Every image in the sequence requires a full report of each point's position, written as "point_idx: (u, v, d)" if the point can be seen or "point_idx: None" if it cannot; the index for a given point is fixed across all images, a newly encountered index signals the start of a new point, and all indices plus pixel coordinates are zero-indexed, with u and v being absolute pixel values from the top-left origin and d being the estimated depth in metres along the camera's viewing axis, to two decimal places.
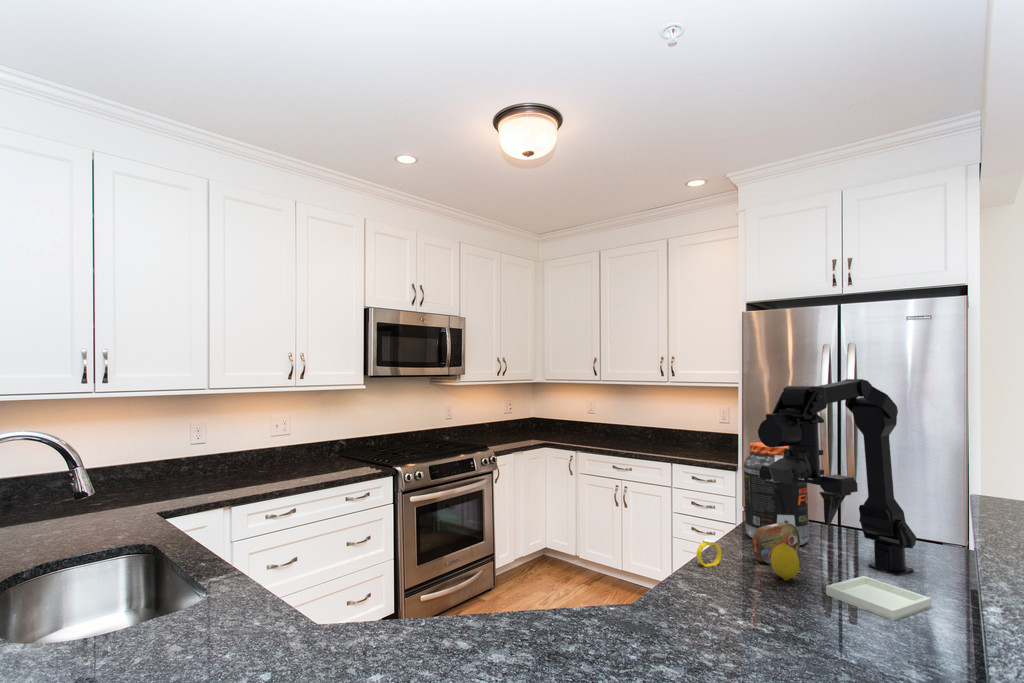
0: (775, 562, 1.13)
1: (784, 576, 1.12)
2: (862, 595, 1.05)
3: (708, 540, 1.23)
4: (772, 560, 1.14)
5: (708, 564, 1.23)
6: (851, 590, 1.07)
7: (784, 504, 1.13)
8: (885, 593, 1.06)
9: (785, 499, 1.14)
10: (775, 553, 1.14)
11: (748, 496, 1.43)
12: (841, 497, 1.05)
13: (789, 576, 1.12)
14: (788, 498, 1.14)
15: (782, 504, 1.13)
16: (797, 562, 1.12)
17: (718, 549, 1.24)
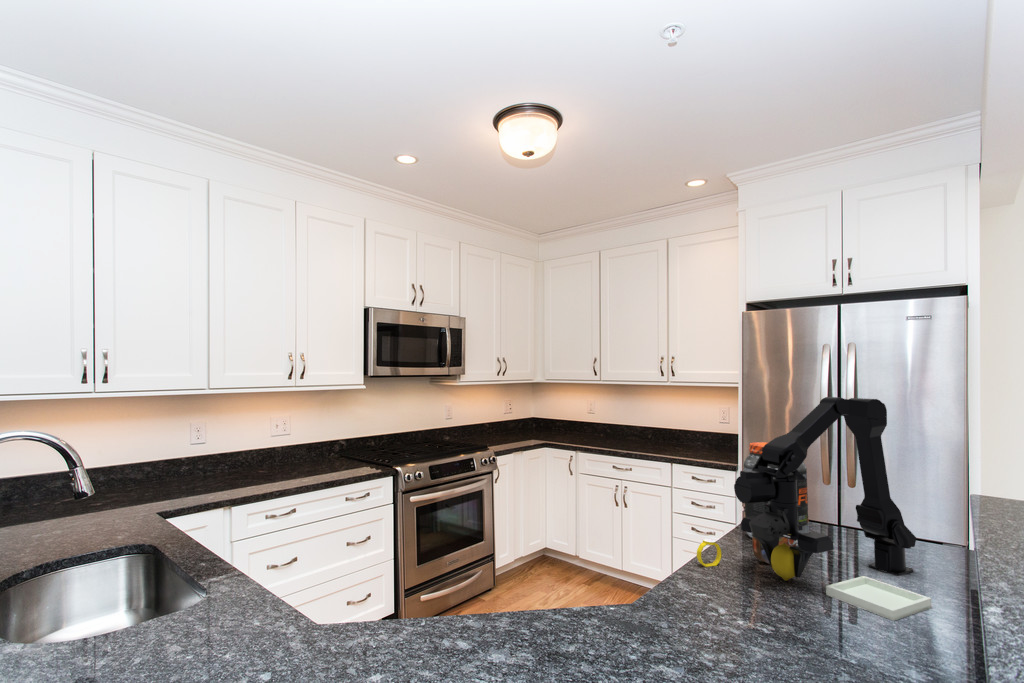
0: (775, 562, 1.13)
1: (784, 576, 1.12)
2: (862, 595, 1.05)
3: (708, 540, 1.23)
4: (772, 560, 1.14)
5: (708, 564, 1.23)
6: (851, 590, 1.07)
7: None
8: (885, 593, 1.06)
9: None
10: (775, 553, 1.14)
11: None
12: (810, 551, 1.11)
13: (789, 576, 1.12)
14: None
15: (769, 559, 1.16)
16: None
17: (718, 549, 1.24)
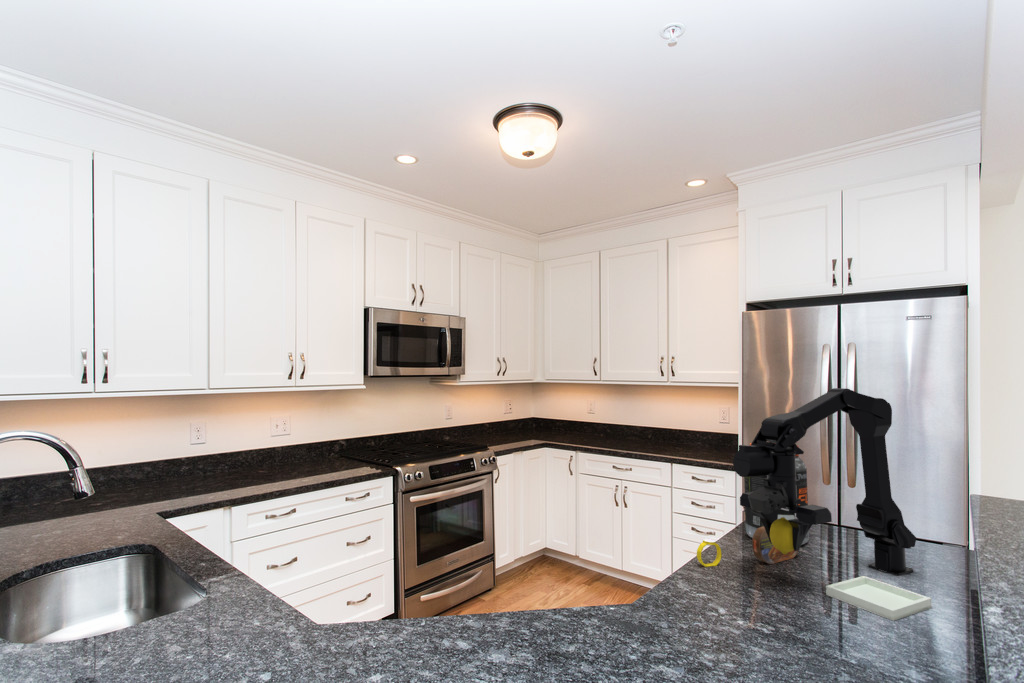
0: (774, 535, 1.13)
1: (783, 549, 1.12)
2: (862, 595, 1.05)
3: (708, 540, 1.23)
4: (771, 534, 1.14)
5: (708, 564, 1.23)
6: (851, 590, 1.07)
7: None
8: (885, 593, 1.06)
9: None
10: (773, 526, 1.14)
11: None
12: (809, 524, 1.11)
13: (788, 549, 1.12)
14: None
15: (768, 533, 1.17)
16: None
17: (718, 549, 1.24)
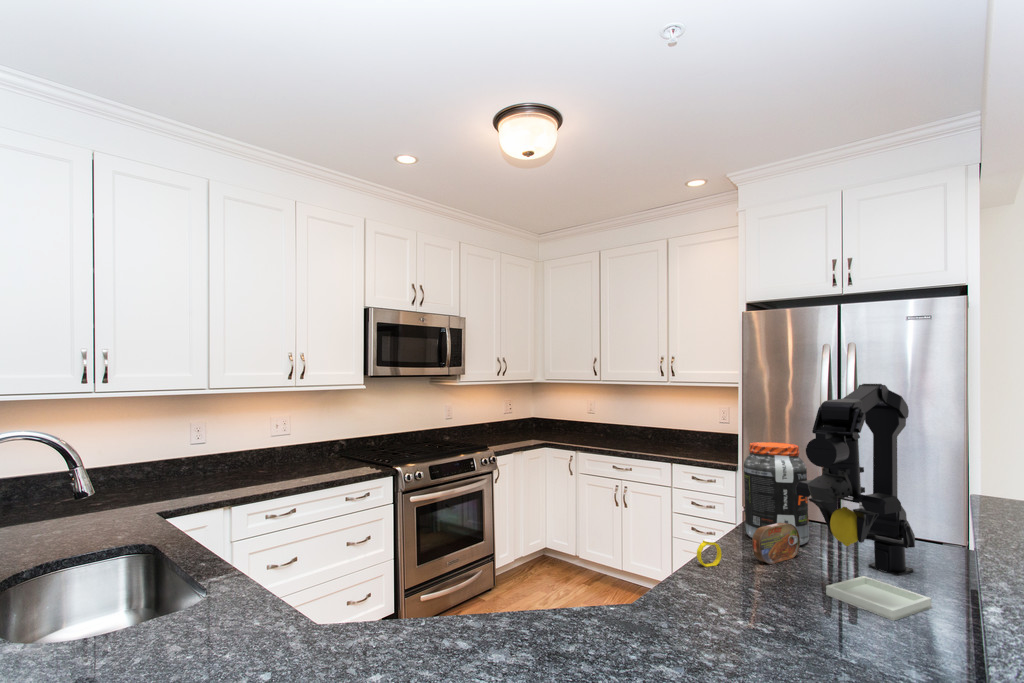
0: (835, 526, 1.06)
1: (846, 541, 1.05)
2: (862, 595, 1.05)
3: (708, 540, 1.23)
4: (832, 524, 1.07)
5: (708, 564, 1.23)
6: (851, 590, 1.07)
7: None
8: (885, 593, 1.06)
9: None
10: (835, 516, 1.07)
11: (748, 496, 1.43)
12: (875, 514, 1.04)
13: (851, 541, 1.05)
14: None
15: (828, 524, 1.10)
16: None
17: (718, 549, 1.24)
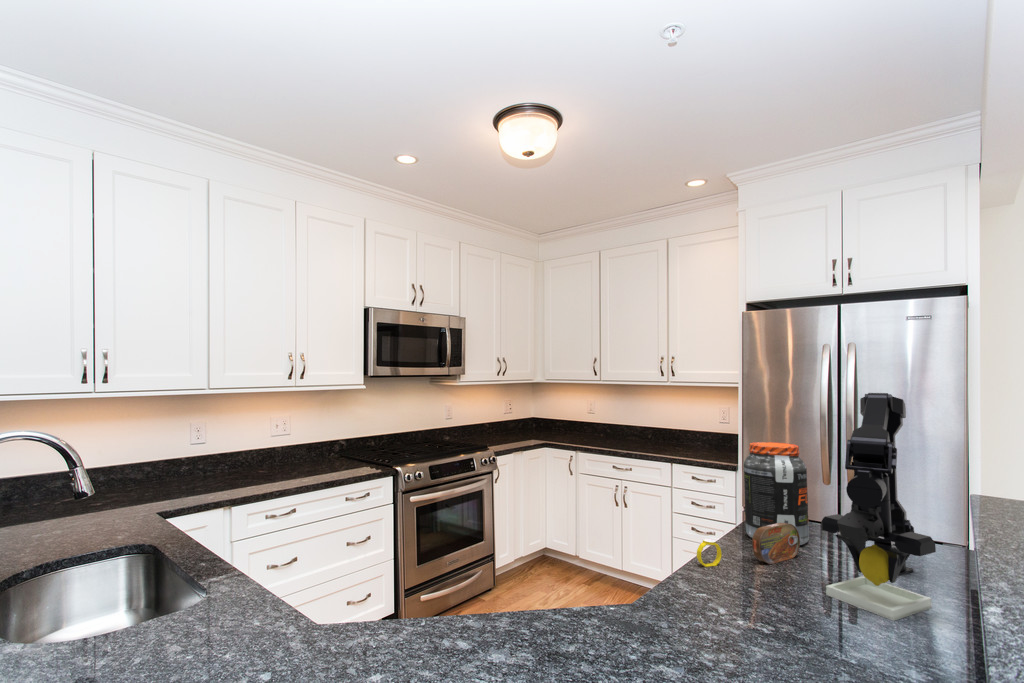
0: (866, 565, 1.03)
1: (876, 581, 1.02)
2: (862, 595, 1.05)
3: (708, 540, 1.23)
4: (861, 563, 1.04)
5: (708, 564, 1.23)
6: (851, 590, 1.07)
7: None
8: (885, 593, 1.06)
9: None
10: (865, 555, 1.03)
11: (748, 496, 1.43)
12: (907, 554, 1.00)
13: (882, 581, 1.01)
14: None
15: (857, 562, 1.06)
16: None
17: (718, 549, 1.24)
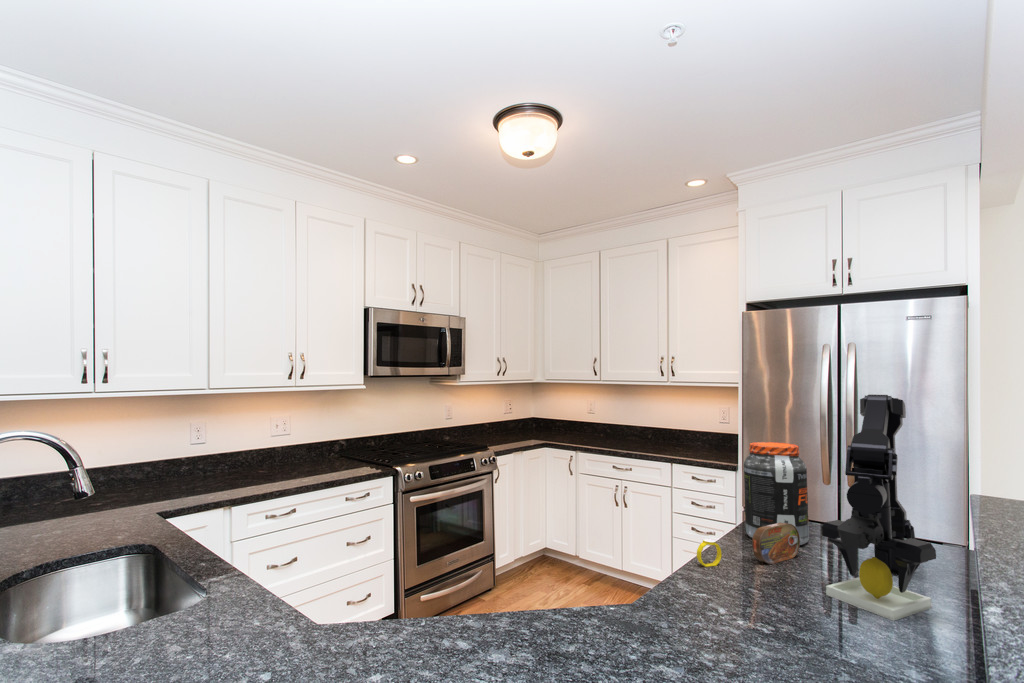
0: (866, 578, 1.02)
1: (877, 594, 1.02)
2: (862, 595, 1.05)
3: (708, 540, 1.23)
4: (861, 576, 1.03)
5: (708, 564, 1.23)
6: (851, 590, 1.07)
7: (851, 565, 1.07)
8: None
9: (851, 560, 1.08)
10: (864, 568, 1.03)
11: (748, 496, 1.43)
12: (917, 563, 0.99)
13: (882, 594, 1.01)
14: (854, 558, 1.08)
15: (848, 565, 1.07)
16: (891, 578, 1.01)
17: (718, 549, 1.24)
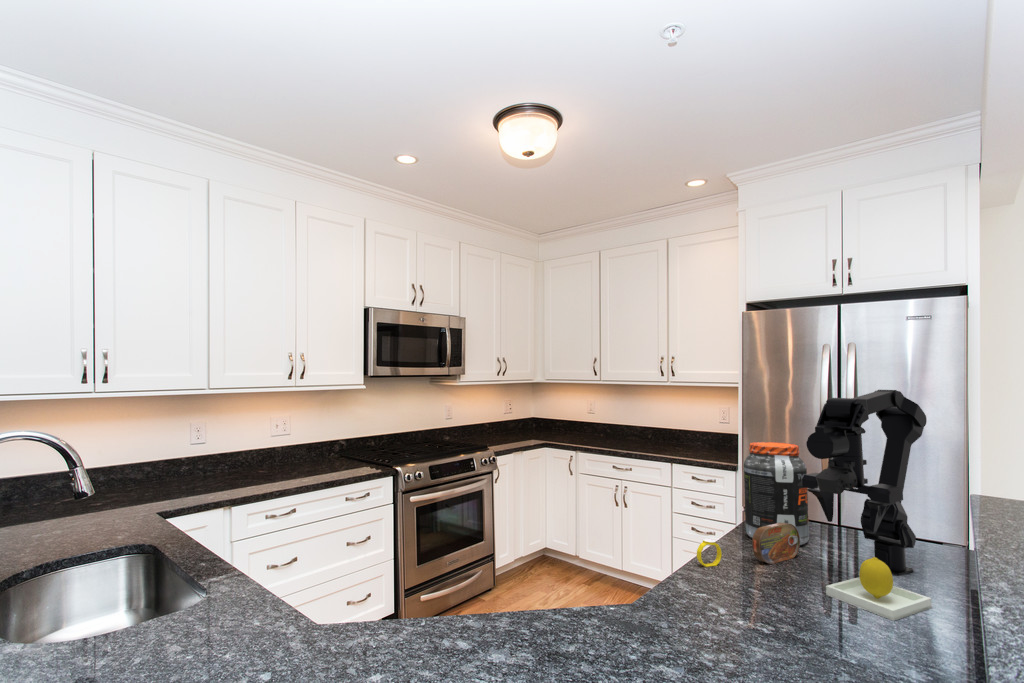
0: (866, 578, 1.02)
1: (877, 594, 1.02)
2: (862, 595, 1.05)
3: (708, 540, 1.23)
4: (862, 576, 1.03)
5: (708, 564, 1.23)
6: (851, 590, 1.07)
7: (828, 512, 1.17)
8: None
9: (828, 507, 1.18)
10: (865, 568, 1.03)
11: (748, 496, 1.43)
12: (886, 505, 1.09)
13: (882, 594, 1.01)
14: (831, 506, 1.18)
15: (826, 512, 1.18)
16: (891, 578, 1.01)
17: (718, 549, 1.24)
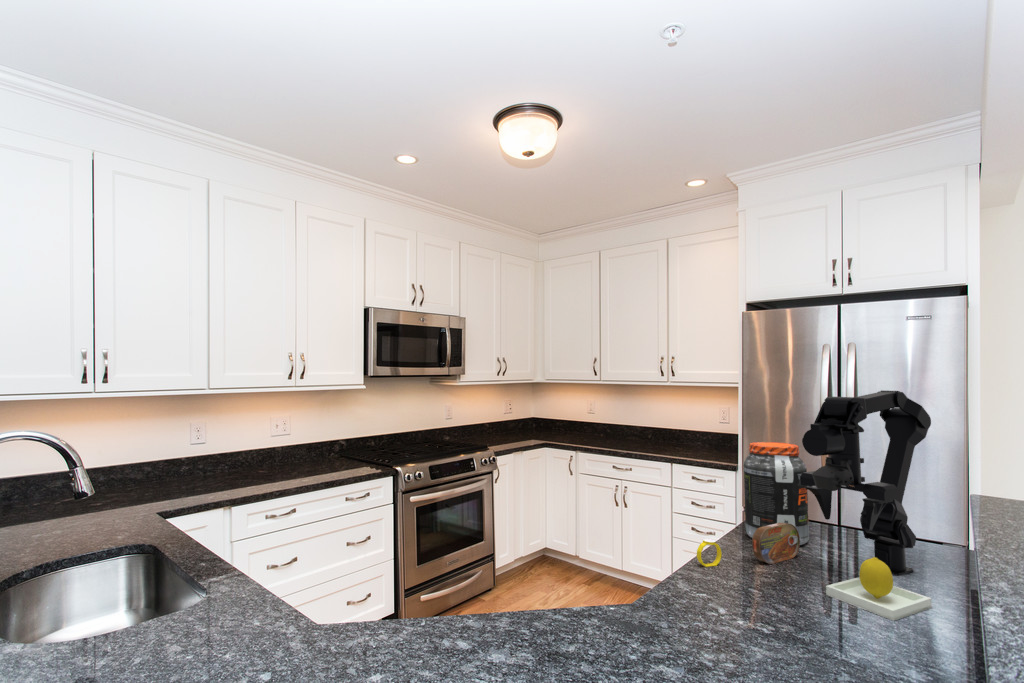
0: (866, 578, 1.02)
1: (877, 594, 1.02)
2: (862, 595, 1.05)
3: (708, 540, 1.23)
4: (862, 576, 1.03)
5: (708, 564, 1.23)
6: (851, 590, 1.07)
7: (825, 510, 1.18)
8: None
9: (826, 505, 1.19)
10: (865, 568, 1.03)
11: (748, 496, 1.43)
12: (883, 503, 1.10)
13: (883, 594, 1.01)
14: (829, 504, 1.19)
15: (823, 510, 1.19)
16: (891, 578, 1.01)
17: (718, 549, 1.24)
